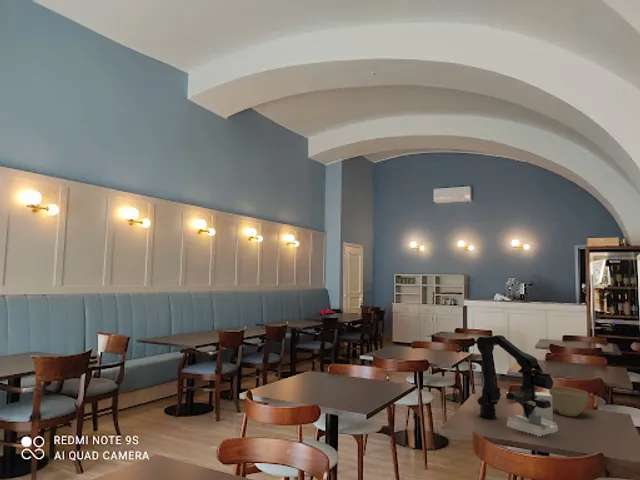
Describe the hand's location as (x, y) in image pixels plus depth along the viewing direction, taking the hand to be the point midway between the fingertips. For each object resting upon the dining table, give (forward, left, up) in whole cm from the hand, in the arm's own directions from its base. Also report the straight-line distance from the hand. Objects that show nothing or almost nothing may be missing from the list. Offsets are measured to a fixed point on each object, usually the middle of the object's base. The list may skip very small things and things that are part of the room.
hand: (528, 418), depth 218 cm
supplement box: (-6, +23, -5) cm, 24 cm away
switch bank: (0, +4, -5) cm, 6 cm away
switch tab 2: (+3, 0, -2) cm, 4 cm away
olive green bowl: (-5, +45, -5) cm, 45 cm away
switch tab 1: (-4, +7, -2) cm, 8 cm away
